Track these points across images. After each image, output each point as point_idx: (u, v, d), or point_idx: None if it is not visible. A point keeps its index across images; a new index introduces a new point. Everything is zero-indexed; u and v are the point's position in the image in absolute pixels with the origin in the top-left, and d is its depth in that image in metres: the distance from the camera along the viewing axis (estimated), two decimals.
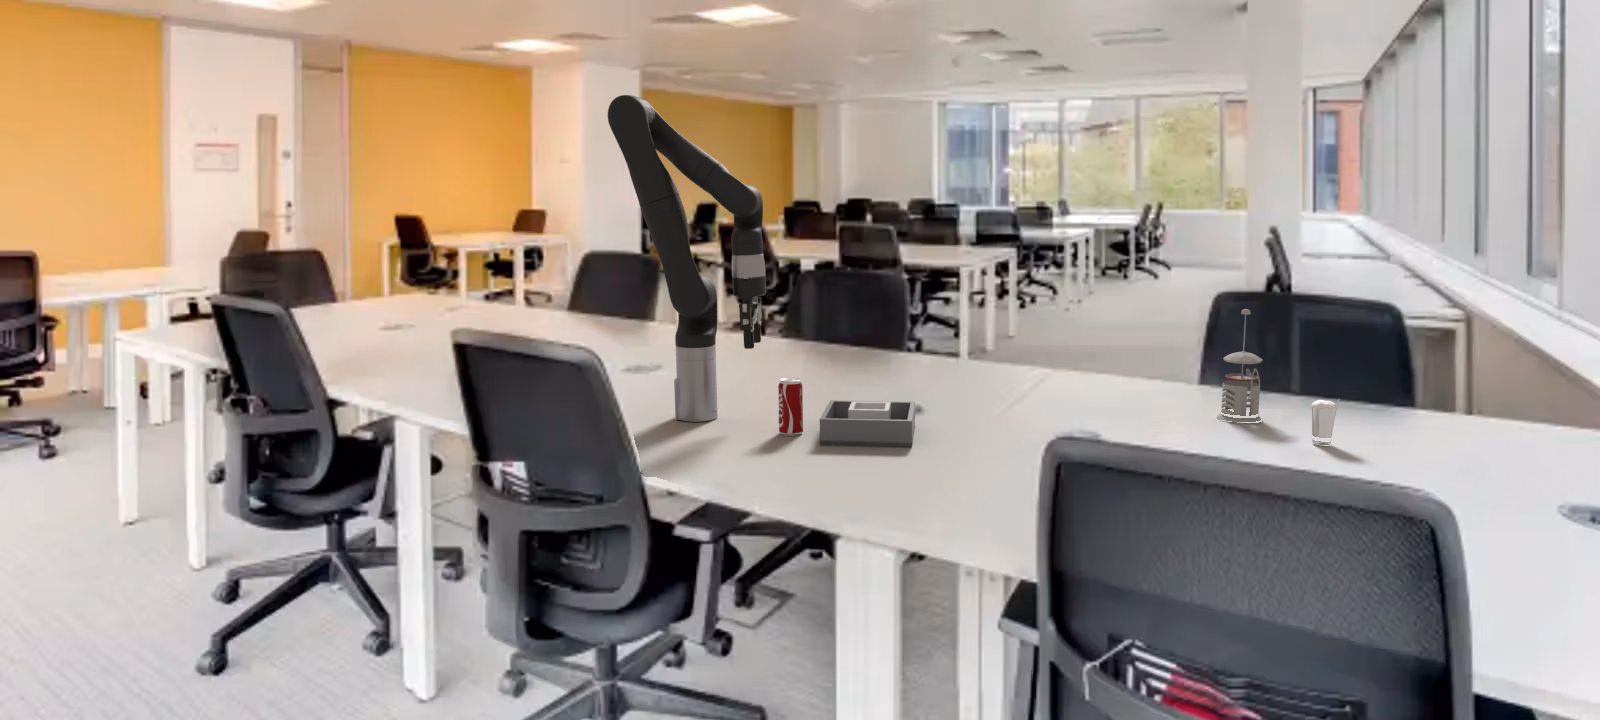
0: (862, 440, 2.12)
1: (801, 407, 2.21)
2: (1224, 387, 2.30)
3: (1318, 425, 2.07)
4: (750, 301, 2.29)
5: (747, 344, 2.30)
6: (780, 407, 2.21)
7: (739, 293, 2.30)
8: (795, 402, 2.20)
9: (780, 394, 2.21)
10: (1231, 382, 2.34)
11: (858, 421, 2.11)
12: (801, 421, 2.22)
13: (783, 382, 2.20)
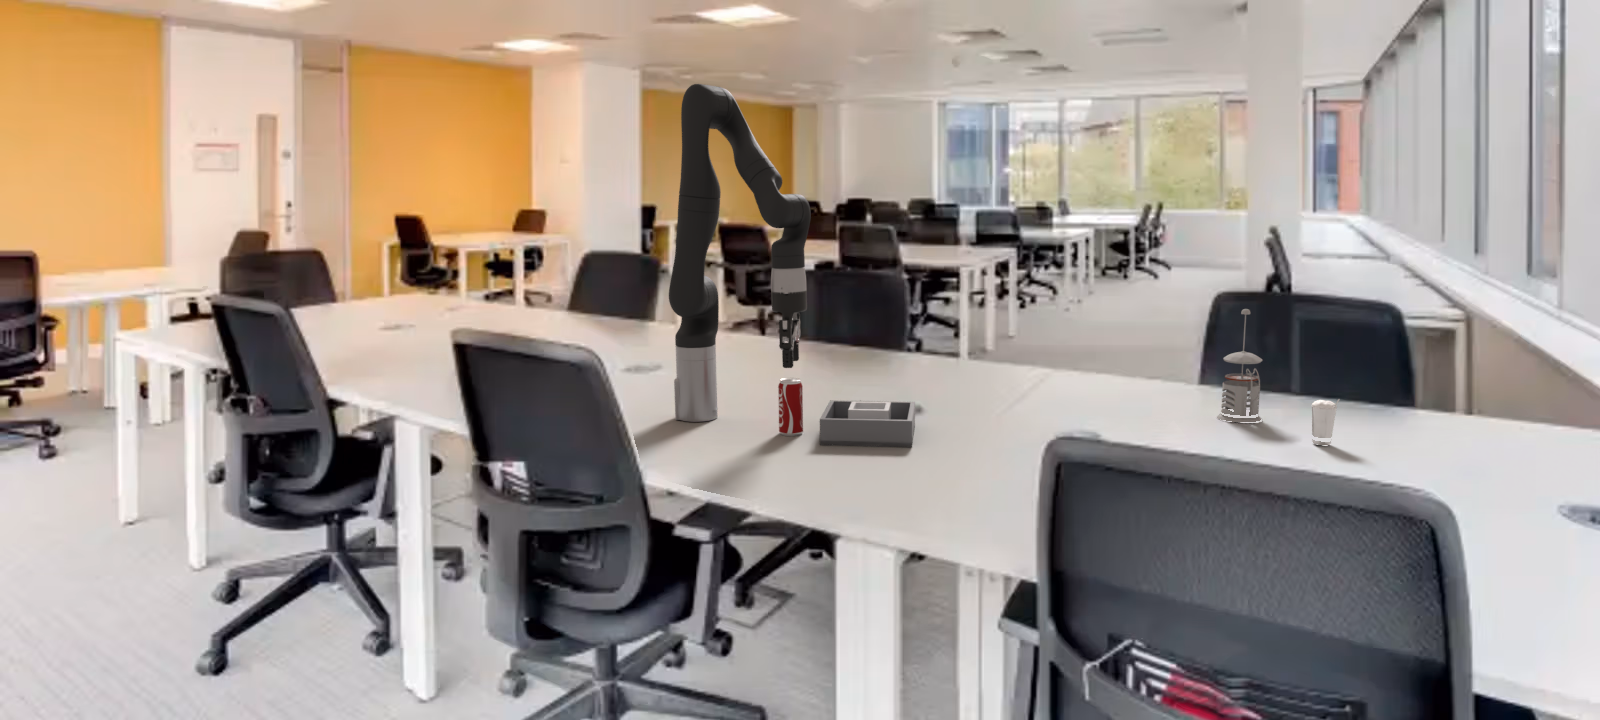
0: (862, 440, 2.12)
1: (801, 407, 2.21)
2: (1224, 387, 2.30)
3: (1318, 425, 2.07)
4: (790, 317, 2.16)
5: (786, 363, 2.16)
6: (780, 407, 2.21)
7: (779, 309, 2.16)
8: (795, 402, 2.20)
9: (780, 394, 2.21)
10: (1231, 382, 2.34)
11: (858, 421, 2.11)
12: (801, 421, 2.22)
13: (783, 382, 2.20)
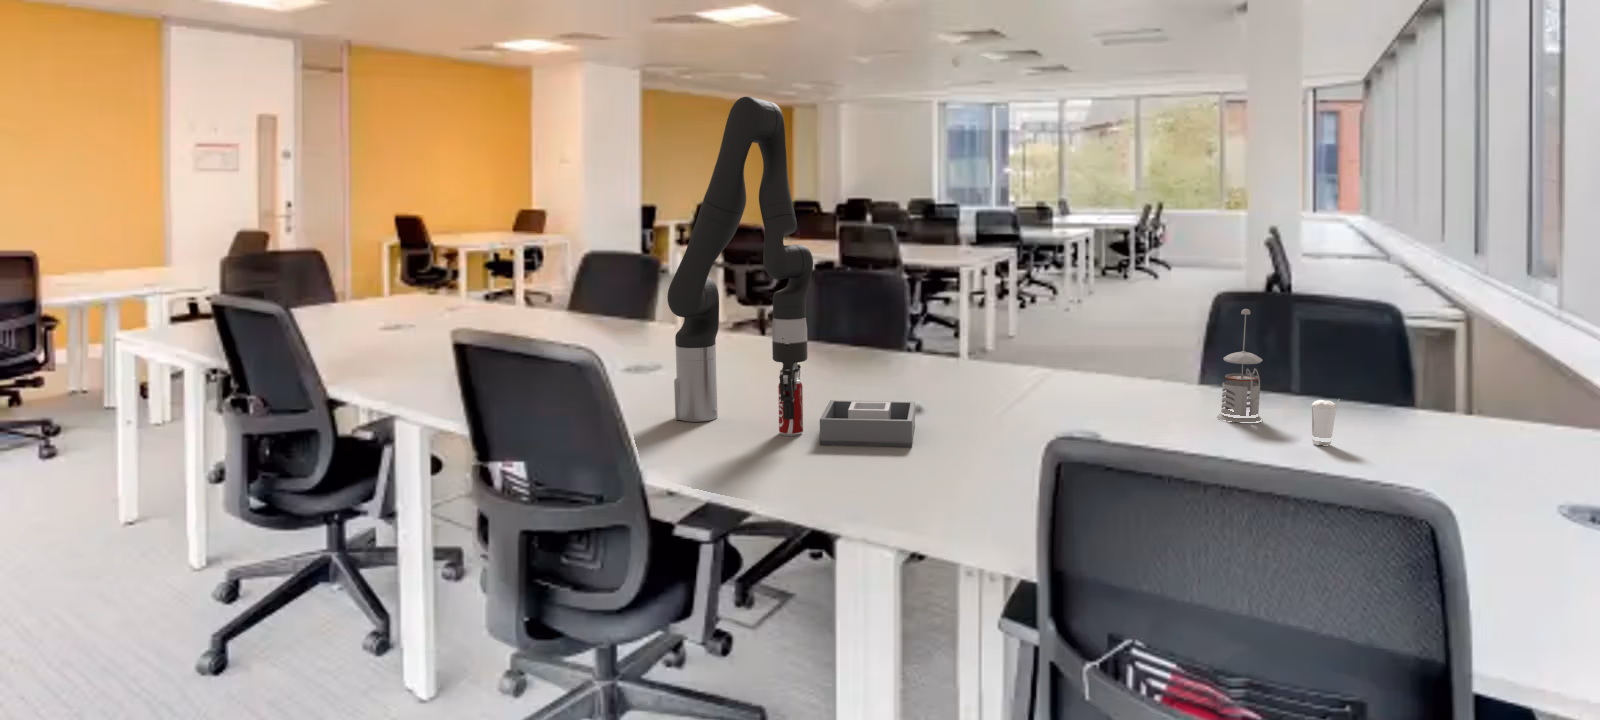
0: (862, 440, 2.12)
1: (801, 407, 2.21)
2: (1224, 387, 2.30)
3: (1318, 425, 2.07)
4: (791, 369, 2.17)
5: (787, 415, 2.19)
6: (780, 407, 2.21)
7: (779, 359, 2.18)
8: (795, 402, 2.20)
9: (780, 394, 2.21)
10: (1231, 382, 2.34)
11: (858, 421, 2.11)
12: (801, 421, 2.22)
13: None
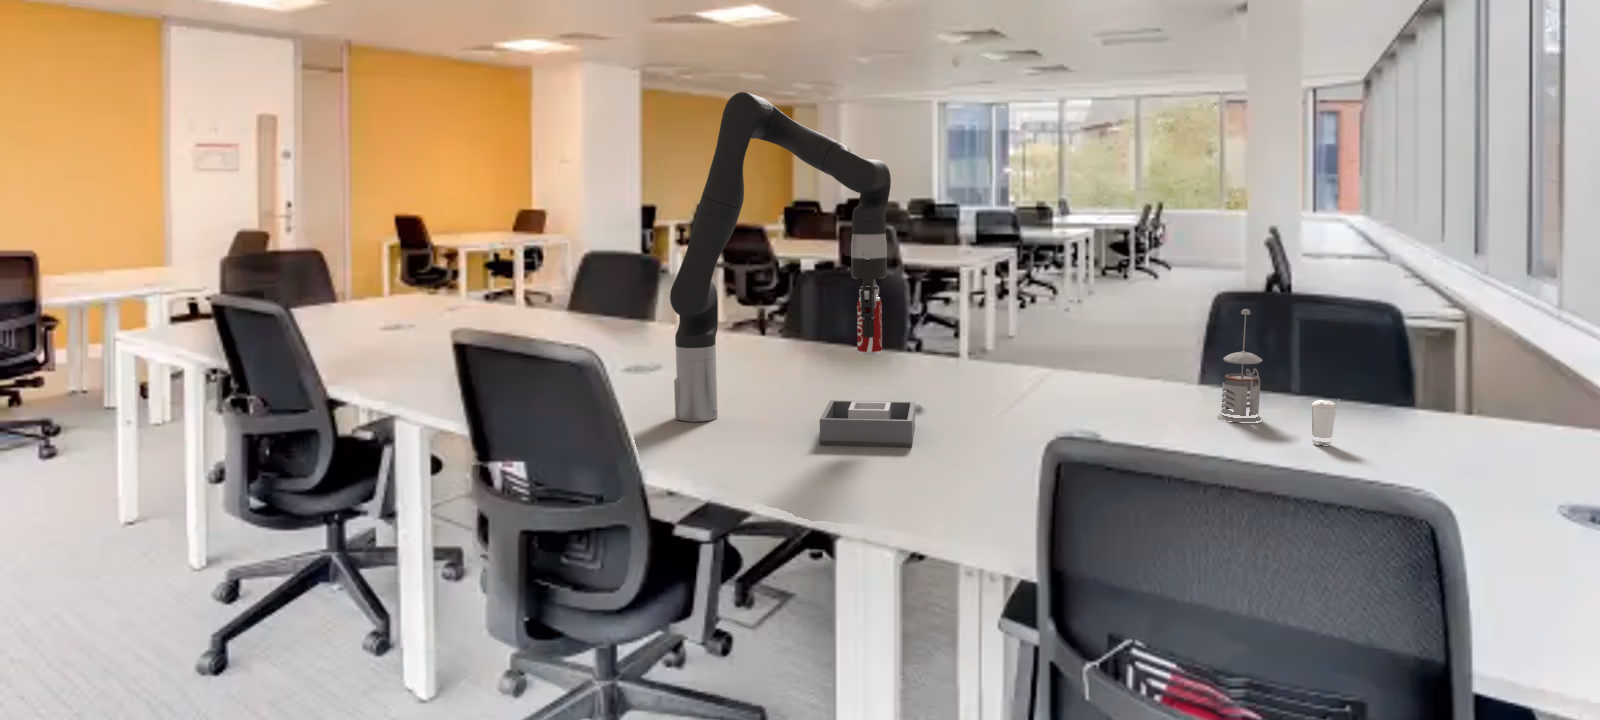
0: (862, 440, 2.12)
1: (880, 325, 2.18)
2: (1224, 387, 2.30)
3: (1318, 425, 2.07)
4: (871, 285, 2.14)
5: (867, 332, 2.16)
6: (859, 325, 2.18)
7: (859, 275, 2.14)
8: (875, 320, 2.17)
9: (859, 312, 2.17)
10: (1231, 382, 2.34)
11: (858, 421, 2.11)
12: (880, 340, 2.18)
13: None
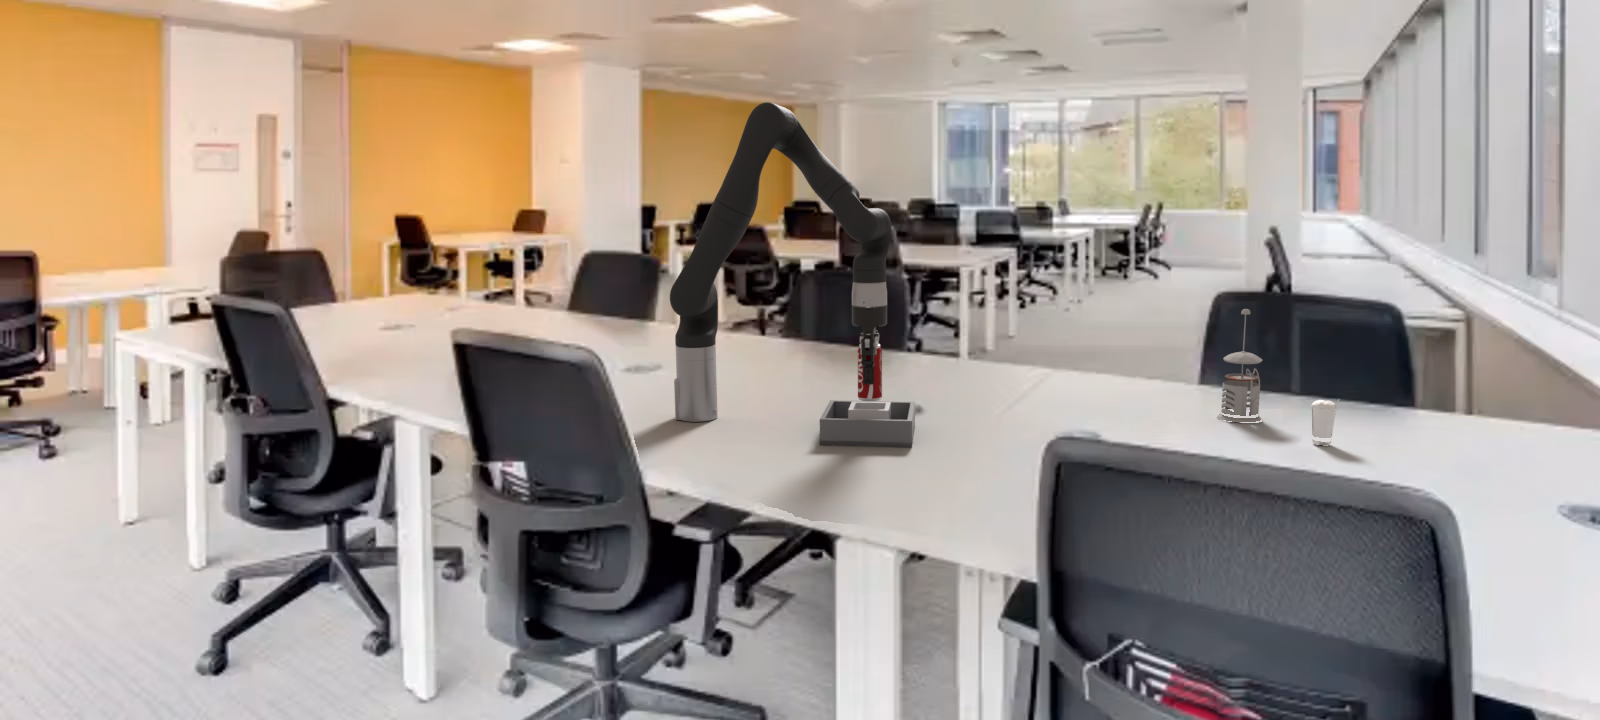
0: (862, 440, 2.12)
1: (881, 372, 2.20)
2: (1224, 387, 2.30)
3: (1318, 425, 2.07)
4: (871, 333, 2.15)
5: (867, 380, 2.17)
6: (860, 372, 2.20)
7: (860, 323, 2.16)
8: (875, 367, 2.18)
9: (860, 359, 2.19)
10: (1231, 382, 2.34)
11: (858, 421, 2.11)
12: (881, 386, 2.20)
13: None
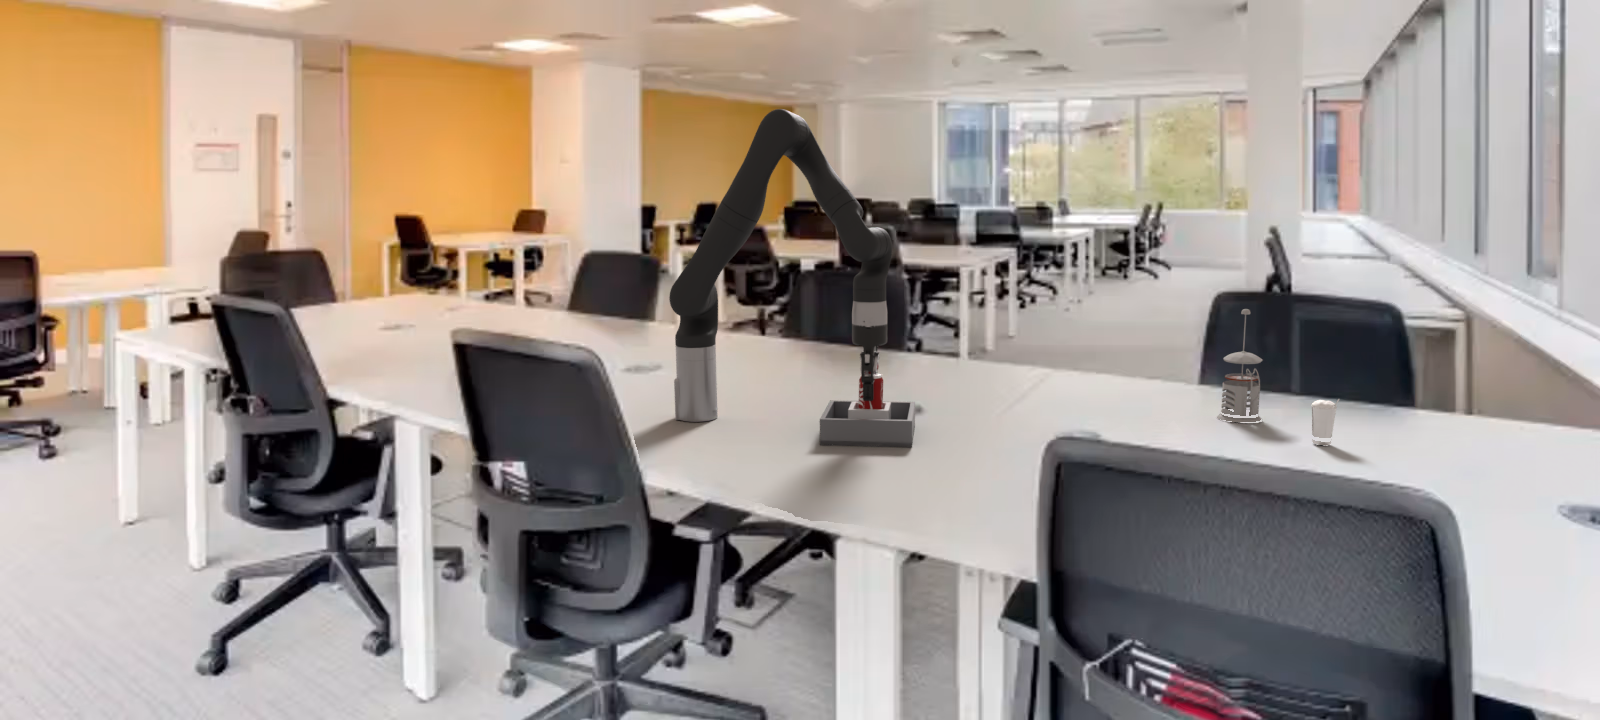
0: (862, 440, 2.12)
1: (881, 402, 2.21)
2: (1224, 387, 2.30)
3: (1318, 425, 2.07)
4: (872, 351, 2.16)
5: (867, 396, 2.17)
6: (861, 401, 2.21)
7: (860, 342, 2.17)
8: (876, 397, 2.19)
9: (861, 388, 2.20)
10: (1231, 382, 2.34)
11: (858, 421, 2.11)
12: None
13: None
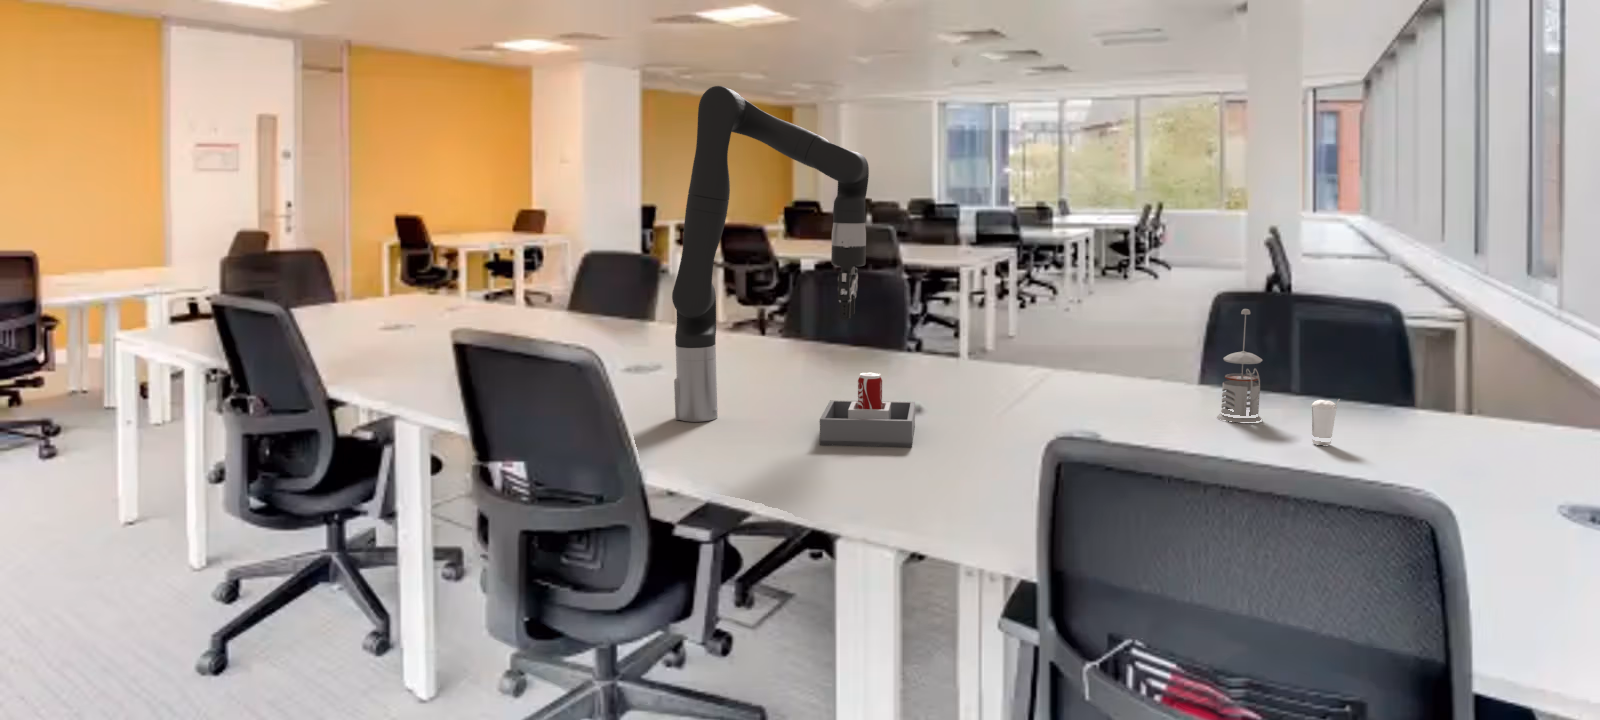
0: (862, 440, 2.12)
1: (881, 402, 2.21)
2: (1224, 387, 2.30)
3: (1318, 425, 2.07)
4: (849, 271, 2.23)
5: (843, 315, 2.23)
6: (860, 402, 2.21)
7: (838, 262, 2.23)
8: (876, 397, 2.19)
9: (860, 389, 2.20)
10: (1231, 382, 2.34)
11: (858, 421, 2.11)
12: None
13: (864, 377, 2.19)
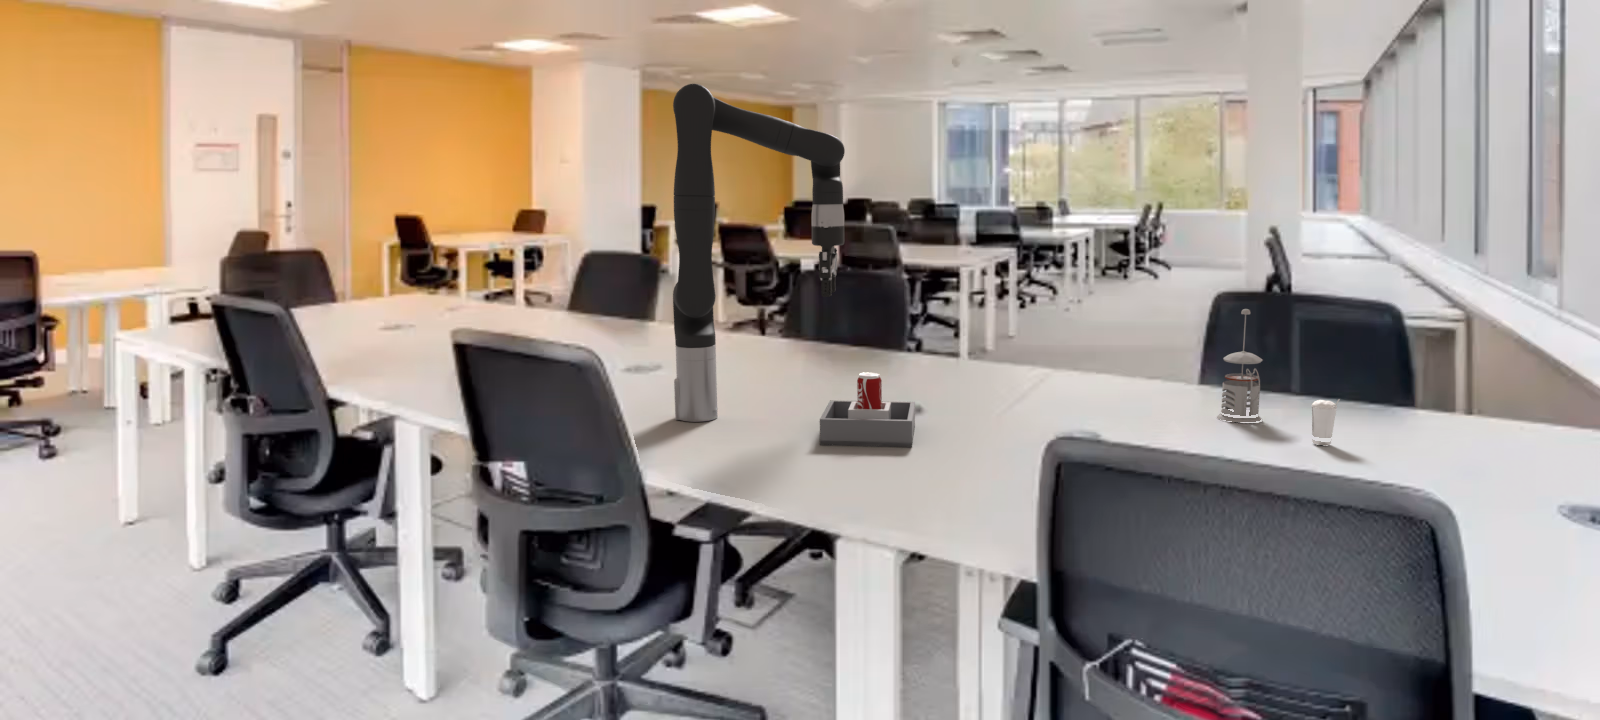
0: (862, 440, 2.12)
1: (880, 401, 2.21)
2: (1224, 387, 2.30)
3: (1318, 425, 2.07)
4: (829, 250, 2.33)
5: (825, 292, 2.33)
6: (860, 402, 2.20)
7: (818, 242, 2.33)
8: (875, 397, 2.19)
9: (860, 389, 2.20)
10: (1231, 382, 2.34)
11: (858, 421, 2.11)
12: None
13: (863, 377, 2.19)
